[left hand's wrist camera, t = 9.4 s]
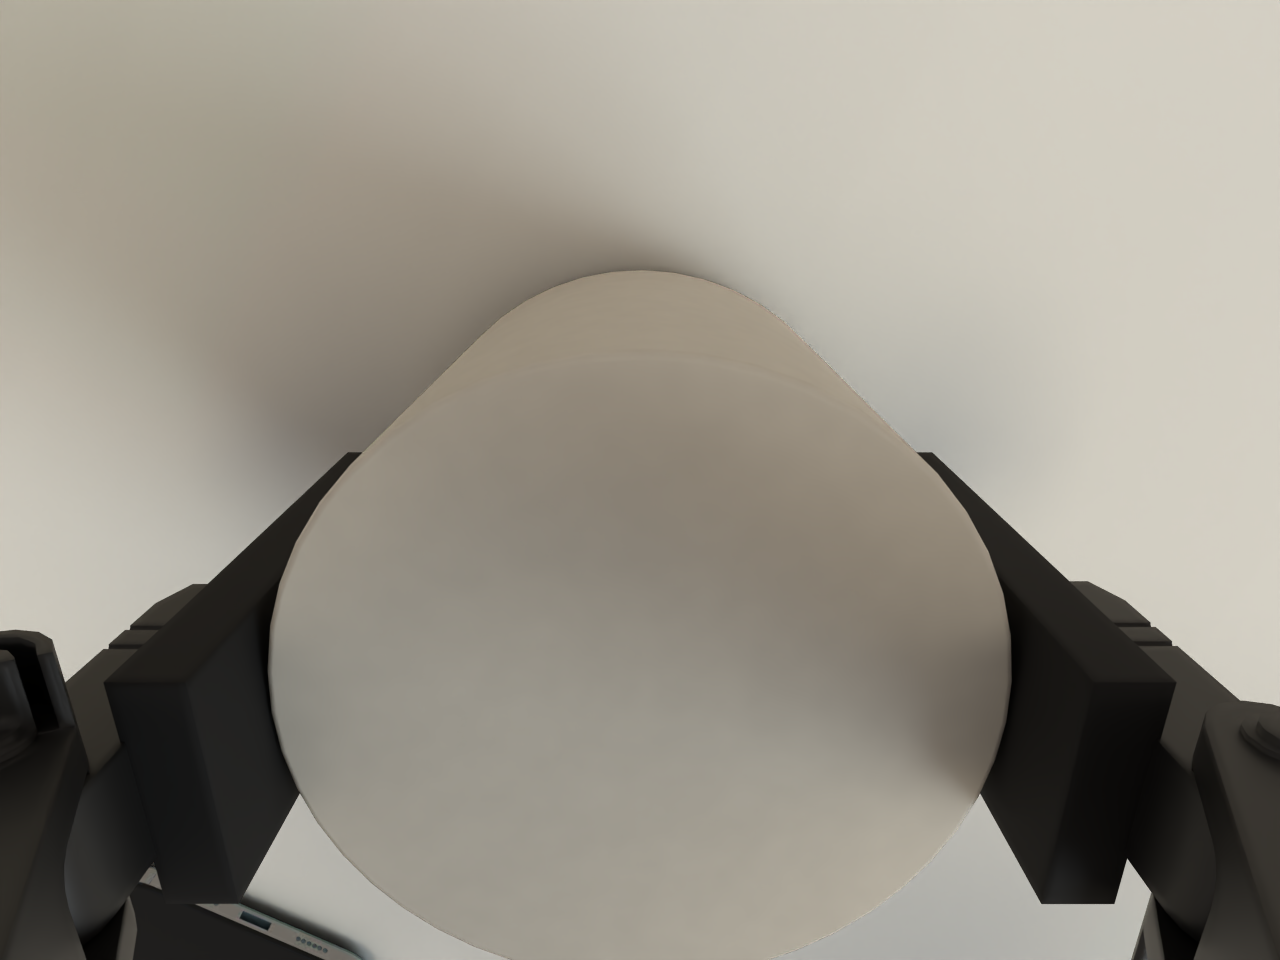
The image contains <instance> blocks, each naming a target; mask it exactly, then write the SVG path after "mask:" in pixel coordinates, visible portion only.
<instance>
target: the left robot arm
mask: <svg viewBox="0 0 1280 960" xmlns="http://www.w3.org/2000/svg"><path fill="white" fill-rule="evenodd" d="M362 453H363V452H348V453H347V454H346V455H345V456H344V457H343V458H341V459H340V460H339V461H338V462H337V463H336V464H335V465H334V466H333V467H332V468H331V469H330V470H329V471H328V472H327V473H326V474H324V475H323V476H322V477H321V478H320V479H319V480H318V481H317V482H316V483H315V484H314V485H313V486H312V487H311V488H310V489H308V490H307V491H306V492H305V493H304V494H303V495H302V496H301V497H300V498H299V499H298V500H297V501H296V502H295V503H294V504H292V505H291V506H290V507H289V508H288V509H287V510H286V511H285V512H284V513H283V514H282V515H281V516H280V517H279V518H278V519H277V520H275V521H274V522H273V523H272V524H271V525H270V526H269V527H268V528H267V529H266V530H265V531H264V532H263V533H262V534H261V535H259V536H258V537H257V538H256V539H255V540H254V541H253V542H252V543H251V544H250V545H249V546H248V547H247V548H246V549H245V550H244V551H242V552H241V553H240V554H239V555H238V556H237V557H236V558H235V559H234V560H233V561H232V562H231V563H230V564H229V565H228V566H226V567H225V568H224V569H223V570H222V571H221V572H220V573H219V574H218V575H217V576H216V577H215V578H214V579H213V580H212V581H211V582H209V583H208V584H192V585H190V586H188V587H186V588H184V589H182V590H180V591H179V592H177V593H175V594H173V595H171V596H169V597H167V598H165V599H163V600H161V601H159V602H157V603H155V604H154V605H153V606H152V607H151V608H150V609H149V610H147V611H146V612H145V613H144V614H143V615H142V616H141V617H140V618H138V619H137V620H136V621H135V622H134V623H133V624H132V625H130V630H125V631H124V632H122V633H121V634H120V635H119V636H118V637H117V638H116V639H114V640H113V641H112V642H111V643H110V644H109V649H103V650H102V651H101V652H100V653H99V654H97V655H96V656H95V657H94V658H93V659H92V660H91V661H89V662H88V663H87V664H86V665H85V666H84V667H83V668H81V669H80V670H79V671H78V672H77V673H76V674H75V675H73V676H72V677H71V678H70V679H69V680H68V681H67V682H65V681H64V678H63V674H62V671H61V668H60V664H59V661H58V658H57V654H56V651H55V648H54V644H53V641H52V639H50V638H48V637H47V636H45V635H43V634H41V633H40V632H33V631H23V630H9V631H0V960H133V955H134V948H135V941H136V934H137V925H136V919H135V913H134V909H133V906H132V903H131V899H130V896H129V895H130V894H131V892H132V891H133V890H134V888H135V887H136V885H137V884H138V883H139V881H140V880H141V878H142V877H143V876H144V874H145V873H146V871H147V870H148V869H149V867H150V866H151V864H152V863H153V862H154V864H155V868H156V871H157V875H158V878H159V882H160V885H161V889H162V893H163V896H164V900H165V903H166V904H239V902H240V900H241V899H242V897H243V895H244V893H245V891H246V890H247V888H248V886H249V884H250V882H251V880H252V879H253V877H254V875H255V873H256V871H257V870H258V868H259V866H260V864H261V862H262V861H263V859H264V857H265V855H266V853H267V852H268V850H269V848H270V846H271V844H272V843H273V841H274V839H275V837H276V835H277V833H278V832H279V830H280V828H281V826H282V824H283V823H284V821H285V819H286V817H287V815H288V814H289V812H290V810H291V808H292V806H293V805H294V803H295V801H296V799H297V797H298V796H299V794H300V792H299V791H298V789H297V787H296V784H295V782H294V780H293V777H292V775H291V772H290V770H289V768H288V765H287V763H286V760H285V758H284V756H283V753H282V751H281V747H280V743H279V739H278V735H277V731H276V727H275V723H274V719H273V715H272V711H271V700H270V690H269V680H268V654H269V637H270V624H271V620H272V615H273V611H274V606H275V602H276V597H277V593H278V588H279V584H280V581H281V578H282V576H283V573H284V571H285V568H286V566H287V563H288V561H289V558H290V556H291V553H292V551H293V548H294V546H295V543H296V541H297V539H298V538H299V536H300V534H301V533H302V531H303V529H304V528H305V526H306V524H307V523H308V521H309V519H310V517H311V516H312V514H313V512H314V511H315V509H316V507H317V506H318V504H319V502H320V501H321V500H322V499H323V497H324V496H325V495H326V494H327V493H328V491H329V490H330V489H331V488H332V486H333V485H334V484H335V483H336V482H337V480H338V479H339V478H340V477H341V476H342V474H343V473H344V472H345V471H346V469H347V468H348V467H349V466H350V465H351V464H352V463H353V462H354V461H355V460H356V459H357V458H358V457H359V456H360V455H361V454H362ZM916 453H917V454H918V455H919V456H920V457H921V458H922V459H923V460H924V461H925V462H926V463H927V464H928V465H929V466H930V467H932V468H933V469H934V470H935V471H936V472H937V473H938V475H939V476H940V477H941V479H942V480H943V481H944V483H945V484H946V485H947V487H948V488H949V489H950V490H951V492H952V493H953V494H954V496H955V497H956V498H957V500H958V501H959V502H960V504H961V505H962V506H963V507H964V509H965V510H966V511H967V513H968V515H969V517H970V519H971V521H972V522H973V524H974V526H975V528H976V530H977V532H978V534H979V535H980V537H981V539H982V541H983V543H984V545H985V546H986V548H987V550H988V552H989V555H990V558H991V560H992V563H993V566H994V569H995V572H996V575H997V577H998V580H999V583H1000V586H1001V589H1002V592H1003V595H1004V601H1005V606H1006V612H1007V617H1008V623H1009V628H1010V634H1011V668H1012V683H1011V691H1010V698H1009V705H1008V713H1007V720H1006V724H1005V728H1004V731H1003V735H1002V738H1001V741H1000V745H999V748H998V751H997V755H996V758H995V761H994V763H993V766H992V768H991V770H990V772H989V774H988V776H987V779H986V781H985V783H984V785H983V787H982V790H981V792H980V794H981V796H982V797H983V799H984V801H985V803H986V805H987V806H988V808H989V810H990V812H991V814H992V815H993V817H994V819H995V821H996V823H997V824H998V826H999V828H1000V830H1001V832H1002V833H1003V835H1004V837H1005V839H1006V841H1007V843H1008V844H1009V846H1010V848H1011V850H1012V852H1013V853H1014V855H1015V857H1016V859H1017V861H1018V862H1019V864H1020V866H1021V868H1022V870H1023V871H1024V873H1025V875H1026V877H1027V879H1028V880H1029V882H1030V884H1031V886H1032V888H1033V890H1034V891H1035V893H1036V895H1037V897H1038V899H1039V900H1040V902H1041V904H1114V903H1115V900H1116V896H1117V893H1118V889H1119V886H1120V882H1121V878H1122V875H1123V871H1124V868H1125V864H1126V861H1127V859H1128V860H1129V861H1130V863H1131V864H1132V866H1133V867H1134V868H1135V870H1136V871H1137V873H1138V874H1139V875H1140V877H1141V878H1142V880H1143V881H1144V882H1145V884H1146V885H1147V887H1148V888H1149V889H1150V891H1151V892H1152V893H1151V896H1150V899H1149V903H1148V906H1147V909H1146V913H1145V916H1144V919H1143V923H1142V926H1141V929H1140V933H1139V936H1138V939H1137V942H1136V946H1135V949H1134V952H1133V956H1132V959H1131V960H1280V707H1279V706H1276V705H1272V704H1265V703H1257V702H1249V701H1240V700H1239V699H1238V698H1236V697H1235V696H1234V695H1233V694H1232V693H1231V692H1230V691H1228V690H1227V689H1226V688H1225V687H1224V686H1223V685H1221V684H1220V683H1219V682H1218V681H1217V680H1216V679H1215V678H1213V677H1212V676H1211V675H1210V674H1209V673H1208V672H1207V671H1205V670H1204V669H1203V668H1202V667H1201V666H1200V665H1199V664H1197V663H1196V662H1195V661H1194V660H1193V659H1192V658H1190V657H1189V656H1188V655H1187V654H1186V653H1185V652H1184V651H1182V650H1181V649H1180V648H1179V647H1178V646H1172V641H1171V640H1170V639H1169V638H1168V637H1166V636H1165V635H1164V634H1163V633H1162V632H1161V631H1159V630H1158V629H1157V628H1156V627H1151V625H1150V622H1149V621H1148V620H1147V619H1146V618H1145V617H1143V616H1142V615H1141V614H1140V613H1139V612H1138V611H1137V610H1135V609H1134V608H1133V607H1132V606H1131V605H1130V604H1128V603H1127V602H1126V601H1125V600H1123V599H1121V598H1119V597H1117V596H1115V595H1113V594H1111V593H1109V592H1107V591H1106V590H1104V589H1102V588H1100V587H1098V586H1096V585H1094V584H1092V583H1090V582H1088V581H1068V580H1067V579H1066V578H1065V577H1064V576H1063V575H1062V574H1061V573H1060V572H1059V571H1058V570H1057V569H1056V568H1055V567H1054V566H1052V565H1051V564H1050V563H1049V562H1048V561H1047V560H1046V559H1045V558H1044V557H1043V556H1042V555H1041V554H1040V553H1039V552H1038V551H1036V550H1035V549H1034V548H1033V547H1032V546H1031V545H1030V544H1029V543H1028V542H1027V541H1026V540H1025V539H1024V538H1023V537H1022V536H1021V535H1019V534H1018V533H1017V532H1016V531H1015V530H1014V529H1013V528H1012V527H1011V526H1010V525H1009V524H1008V523H1007V522H1006V521H1005V520H1003V519H1002V518H1001V517H1000V516H999V515H998V514H997V513H996V512H995V511H994V510H993V509H992V508H991V507H990V506H989V505H988V504H986V503H985V502H984V501H983V500H982V499H981V498H980V497H979V496H978V495H977V494H976V493H975V492H974V491H973V490H972V489H970V488H969V487H968V486H967V485H966V484H965V483H964V482H963V481H962V480H961V479H960V478H959V477H958V476H957V475H956V474H954V473H953V472H952V471H951V470H950V469H949V468H948V467H947V466H946V465H945V464H944V463H943V462H942V461H941V460H940V459H939V458H937V457H936V456H935V455H934V454H933V453H932V452H916Z"/></svg>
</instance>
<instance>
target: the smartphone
mask: <svg viewBox="0 0 1280 960" xmlns="http://www.w3.org/2000/svg"><path fill="white" fill-rule="evenodd" d="M129 896H130V899H131V903H132V906H133V909H134V913H135V919H136V925H137V934H136V941H135V948H134V955H133V960H363V959H362V958H360V957H359V956H358V955H356V954H355V953H353V952H351V951H348V950H346V949H344V948H341V947H339V946H337V945H335V944H332V943H330V942H328V941H325V940H323V939H321V938H318V937H316V936H314V935H311V934H309V933H307V932H305V931H302V930H300V929H298V928H295V927H293V926H291V925H288V924H286V923H284V922H282V921H279V920H277V919H275V918H272V917H270V916H268V915H265V914H263V913H261V912H258V911H256V910H254V909H252V908H249V907H247V906H245V905H242V904H240V903H239V904H166V903H165V900H164V896H163V893H162V889H161V885H160V882H159V878H158V875H157V871H156V868H154V867H149V869H148V870H147V871H146V873H145V874H144V876H143V877H142V878H141V880H140V881H139V883H138V884H137V885H136V887H135V888H134V890H133V891H132V892H131V894H130V895H129Z"/></svg>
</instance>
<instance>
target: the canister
mask: <svg viewBox="0 0 1280 960" xmlns="http://www.w3.org/2000/svg"><path fill="white" fill-rule="evenodd" d="M268 680H269V690H270V700H271V711H272V715H273V719H274V723H275V727H276V731H277V735H278V739H279V743H280V747H281V751H282V753H283V756H284V758H285V760H286V763H287V765H288V768H289V770H290V772H291V775H292V777H293V780H294V782H295V784H296V787H297V789H298V791H299V792H300V794H301V796H302V797H303V799H304V801H305V802H306V804H307V806H308V807H309V809H310V811H311V812H312V814H313V816H314V818H315V819H316V821H317V823H318V824H319V825H320V826H321V828H322V829H323V830H324V832H325V833H326V834H327V835H328V837H329V838H330V839H331V840H332V842H333V843H334V844H335V846H336V847H337V848H338V849H339V851H340V852H341V853H342V854H343V855H344V856H345V857H346V858H347V859H348V860H349V861H350V862H351V863H352V864H353V865H354V866H355V867H356V868H357V869H358V870H359V871H360V872H361V873H362V874H363V875H364V876H365V877H366V878H367V879H368V880H369V881H370V882H371V883H372V884H373V885H375V886H376V887H377V888H378V889H380V890H381V891H382V892H384V893H385V894H386V895H387V896H389V897H390V898H391V899H393V900H394V901H395V902H396V903H398V904H399V905H400V906H402V907H403V908H404V909H406V910H408V911H409V912H411V913H413V914H414V915H416V916H417V917H419V918H421V919H422V920H424V921H425V922H427V923H429V924H430V925H432V926H434V927H435V928H437V929H439V930H441V931H443V932H445V933H447V934H449V935H451V936H453V937H455V938H458V939H460V940H462V941H464V942H466V943H468V944H470V945H472V946H474V947H477V948H480V949H482V950H485V951H488V952H491V953H494V954H496V955H499V956H502V957H505V958H507V959H510V960H769V959H772V958H775V957H778V956H781V955H784V954H787V953H790V952H793V951H796V950H798V949H800V948H802V947H805V946H807V945H809V944H811V943H814V942H816V941H818V940H820V939H822V938H825V937H827V936H829V935H831V934H834V933H835V932H837V931H839V930H840V929H842V928H844V927H846V926H847V925H849V924H851V923H853V922H854V921H856V920H858V919H859V918H861V917H863V916H865V915H866V914H868V913H870V912H871V911H872V910H874V909H875V908H876V907H878V906H879V905H880V904H882V903H883V902H884V901H886V900H887V899H888V898H890V897H891V896H893V895H894V894H895V893H897V892H898V891H899V890H901V889H902V888H903V887H904V886H905V885H906V884H907V883H908V882H909V881H910V880H911V879H913V878H914V877H915V876H916V875H917V874H918V873H919V872H920V871H921V870H922V869H923V868H924V867H925V866H926V865H928V864H929V863H930V862H931V861H932V859H933V858H934V857H935V856H936V855H937V853H938V852H939V851H940V850H941V849H942V847H943V846H944V845H945V844H946V843H947V842H948V840H949V839H950V838H951V837H952V836H953V834H954V833H955V832H956V831H957V829H958V828H959V826H960V825H961V823H962V821H963V820H964V818H965V817H966V815H967V814H968V812H969V810H970V809H971V807H972V806H973V804H974V803H975V801H976V799H977V798H978V796H979V794H980V792H981V790H982V787H983V785H984V783H985V781H986V779H987V776H988V774H989V772H990V770H991V768H992V766H993V763H994V761H995V758H996V755H997V751H998V748H999V745H1000V741H1001V738H1002V735H1003V731H1004V728H1005V724H1006V720H1007V713H1008V705H1009V698H1010V691H1011V683H1012V668H1011V634H1010V628H1009V623H1008V617H1007V612H1006V606H1005V601H1004V595H1003V592H1002V589H1001V586H1000V583H999V580H998V577H997V575H996V572H995V569H994V566H993V563H992V560H991V558H990V555H989V552H988V550H987V548H986V546H985V545H984V543H983V541H982V539H981V537H980V535H979V534H978V532H977V530H976V528H975V526H974V524H973V522H972V521H971V519H970V517H969V515H968V513H967V511H966V510H965V509H964V507H963V506H962V505H961V504H960V502H959V501H958V500H957V498H956V497H955V496H954V494H953V493H952V492H951V490H950V489H949V488H948V487H947V485H946V484H945V483H944V481H943V480H942V479H941V477H940V476H939V475H938V473H937V472H936V471H935V470H934V469H933V468H932V467H930V466H929V465H928V464H927V463H926V462H925V461H924V460H923V459H922V458H921V457H920V456H919V455H918V454H917V453H916V452H915V451H914V450H913V449H912V448H911V447H910V446H909V445H908V444H907V443H906V442H905V441H904V440H903V439H902V438H901V437H900V436H899V435H898V434H897V433H896V432H895V431H894V430H893V429H892V428H891V427H890V426H889V425H888V424H887V423H886V422H885V421H884V420H883V419H882V418H881V417H880V416H879V415H878V414H877V413H876V412H875V411H874V410H873V409H872V408H871V407H870V406H869V405H868V404H867V403H866V402H865V401H864V400H863V399H862V398H861V397H860V396H859V395H858V394H857V393H856V392H855V391H854V390H853V389H852V388H851V387H850V386H849V385H848V384H847V383H846V382H845V381H844V380H843V379H842V378H841V377H840V376H839V375H838V374H837V373H836V372H835V371H834V370H833V369H832V368H831V367H830V366H829V365H828V364H827V363H826V362H825V361H823V360H822V359H821V358H820V357H819V356H818V355H817V354H816V353H815V352H814V351H813V350H812V349H811V348H810V347H809V346H808V345H807V344H806V343H805V342H804V341H803V340H802V339H801V338H800V337H799V336H798V335H797V334H796V333H795V332H794V331H793V330H792V329H791V328H790V327H789V326H788V325H787V324H786V323H785V322H784V321H782V320H781V319H779V318H778V317H777V316H775V315H774V314H773V313H771V312H770V311H768V310H767V309H766V308H764V307H763V306H762V305H760V304H758V303H757V302H755V301H753V300H751V299H749V298H747V297H745V296H743V295H742V294H740V293H738V292H736V291H734V290H732V289H729V288H726V287H724V286H721V285H718V284H716V283H713V282H710V281H708V280H705V279H701V278H696V277H691V276H687V275H682V274H678V273H672V272H660V271H648V270H637V271H617V272H609V273H603V274H598V275H593V276H587V277H582V278H579V279H576V280H573V281H570V282H567V283H564V284H561V285H558V286H555V287H553V288H550V289H548V290H546V291H544V292H542V293H540V294H538V295H536V296H534V297H532V298H530V299H528V300H526V301H525V302H523V303H522V304H520V305H519V306H517V307H516V308H514V309H513V310H511V311H510V312H508V313H507V314H506V315H504V316H503V317H501V318H500V319H499V320H498V321H497V322H496V323H495V324H493V325H492V326H491V327H490V328H489V329H488V330H487V331H486V332H485V333H483V334H482V335H481V336H480V337H479V338H478V339H477V340H476V341H475V342H474V343H473V344H472V345H471V346H470V347H469V348H468V349H467V350H466V351H465V352H464V353H463V354H462V355H461V356H460V357H459V358H458V359H457V360H456V361H455V362H454V363H453V364H452V365H451V366H450V367H449V368H448V369H447V370H446V371H445V372H444V373H443V374H442V375H441V376H440V377H439V378H438V379H437V380H436V381H435V382H434V383H433V384H432V385H431V386H430V387H429V388H428V389H427V390H426V391H424V392H423V393H422V394H421V395H420V396H419V397H418V398H417V399H416V400H415V401H414V402H413V403H412V404H411V405H410V406H409V407H408V408H407V409H406V410H405V411H404V412H403V413H402V414H401V415H400V416H399V417H398V418H397V419H396V420H395V421H394V422H393V423H392V424H391V425H390V426H389V427H388V428H387V429H386V430H385V431H384V432H383V433H382V434H381V435H380V436H379V437H378V438H377V439H376V440H375V441H374V442H373V443H372V444H371V445H370V446H369V447H368V448H367V449H366V450H365V451H364V452H363V453H362V454H361V455H360V456H359V457H358V458H357V459H356V460H355V461H354V462H353V463H352V464H351V465H350V466H349V467H348V468H347V469H346V471H345V472H344V473H343V474H342V476H341V477H340V478H339V479H338V480H337V482H336V483H335V484H334V485H333V486H332V488H331V489H330V490H329V491H328V493H327V494H326V495H325V496H324V497H323V499H322V500H321V501H320V502H319V504H318V506H317V507H316V509H315V511H314V512H313V514H312V516H311V517H310V519H309V521H308V523H307V524H306V526H305V528H304V529H303V531H302V533H301V534H300V536H299V538H298V539H297V541H296V543H295V546H294V548H293V551H292V553H291V556H290V558H289V561H288V563H287V566H286V568H285V571H284V573H283V576H282V578H281V581H280V584H279V588H278V593H277V597H276V602H275V606H274V611H273V615H272V620H271V624H270V637H269V654H268Z"/></svg>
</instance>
